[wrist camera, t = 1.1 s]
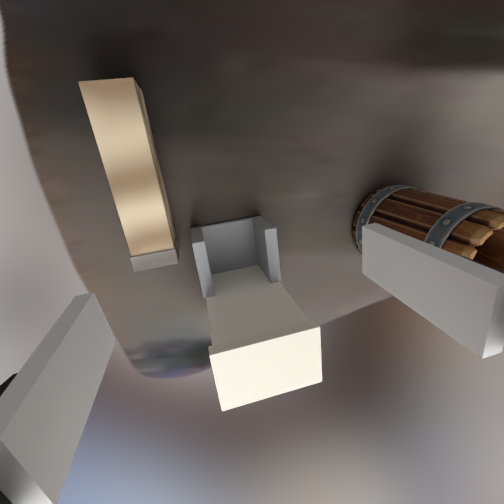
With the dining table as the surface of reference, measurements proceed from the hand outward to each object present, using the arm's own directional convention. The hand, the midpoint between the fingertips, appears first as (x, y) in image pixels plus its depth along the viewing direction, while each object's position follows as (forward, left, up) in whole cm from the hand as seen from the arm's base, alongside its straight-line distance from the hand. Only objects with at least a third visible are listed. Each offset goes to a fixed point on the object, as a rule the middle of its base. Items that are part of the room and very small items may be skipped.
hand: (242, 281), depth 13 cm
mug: (+8, +25, -20) cm, 33 cm away
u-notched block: (+8, +2, -19) cm, 21 cm away
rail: (-4, -6, -19) cm, 21 cm away
